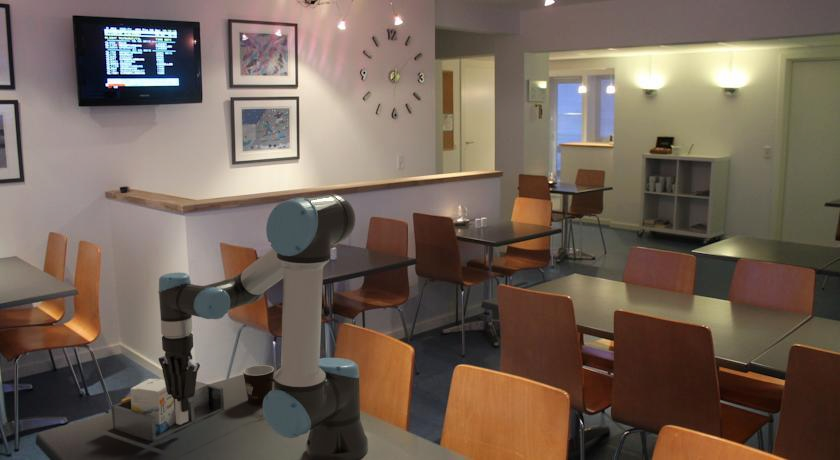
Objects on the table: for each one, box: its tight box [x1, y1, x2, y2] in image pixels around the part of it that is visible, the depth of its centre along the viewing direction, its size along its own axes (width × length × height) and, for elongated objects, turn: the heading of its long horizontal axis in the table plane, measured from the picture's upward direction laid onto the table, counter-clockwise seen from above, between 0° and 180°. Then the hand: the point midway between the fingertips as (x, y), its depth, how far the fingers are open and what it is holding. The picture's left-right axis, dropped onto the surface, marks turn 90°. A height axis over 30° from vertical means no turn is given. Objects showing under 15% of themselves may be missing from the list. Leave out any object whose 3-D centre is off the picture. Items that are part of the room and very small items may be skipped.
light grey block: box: [189, 381, 209, 415], centre depth 205 cm, size 8×8×7 cm
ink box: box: [129, 378, 176, 434], centre depth 195 cm, size 9×8×12 cm
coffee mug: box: [242, 364, 275, 406], centre depth 210 cm, size 12×9×10 cm
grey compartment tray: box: [111, 380, 225, 443], centre depth 200 cm, size 16×24×8 cm
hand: (182, 422), depth 190 cm, fingers closed
